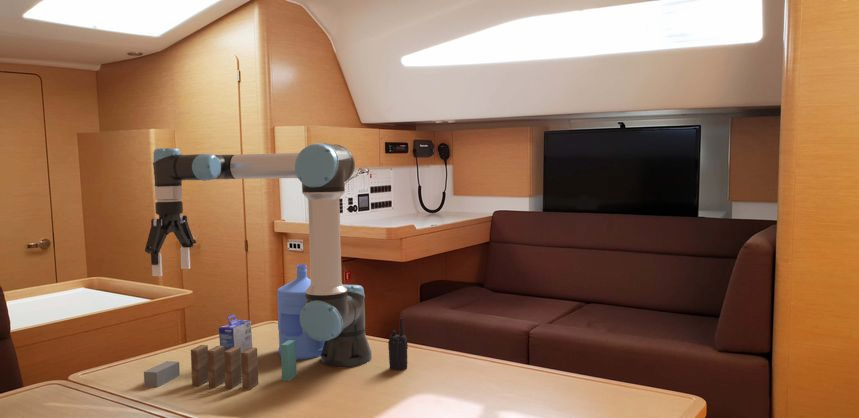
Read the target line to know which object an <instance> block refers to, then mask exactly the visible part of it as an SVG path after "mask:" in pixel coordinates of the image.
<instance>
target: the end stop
mask: <svg viewBox="0 0 859 418" xmlns="http://www.w3.org/2000/svg"><path fill="white" fill-rule="evenodd" d="M180 373H181V372H180V361H172V360H166V361H164V362H162V363H159V364H157V365H155V366H153V367H151V368H148V369H147V370H144V371H143V382H144V383H143V384H144V386H143V387H147V388H148V387H150V388H158V387H160V386H162V385H164V384H166V383H169V382H171V381H172V380H175V379H176V378H178V377H179V376H181V375H180Z"/></svg>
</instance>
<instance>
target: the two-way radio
mask: <svg viewBox="0 0 859 418" xmlns="http://www.w3.org/2000/svg"><path fill="white" fill-rule="evenodd" d="M403 322H404V320H403V318H402V317H400V318H399V334H397V332H396V329H395V330H394V329H393V330H392V331H391V335H390V336H389V339H388V363H389V364H388V365H389V369H390V370H391V371H405V370H407V369H408V339H407V336H406V334H404V323H403Z"/></svg>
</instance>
